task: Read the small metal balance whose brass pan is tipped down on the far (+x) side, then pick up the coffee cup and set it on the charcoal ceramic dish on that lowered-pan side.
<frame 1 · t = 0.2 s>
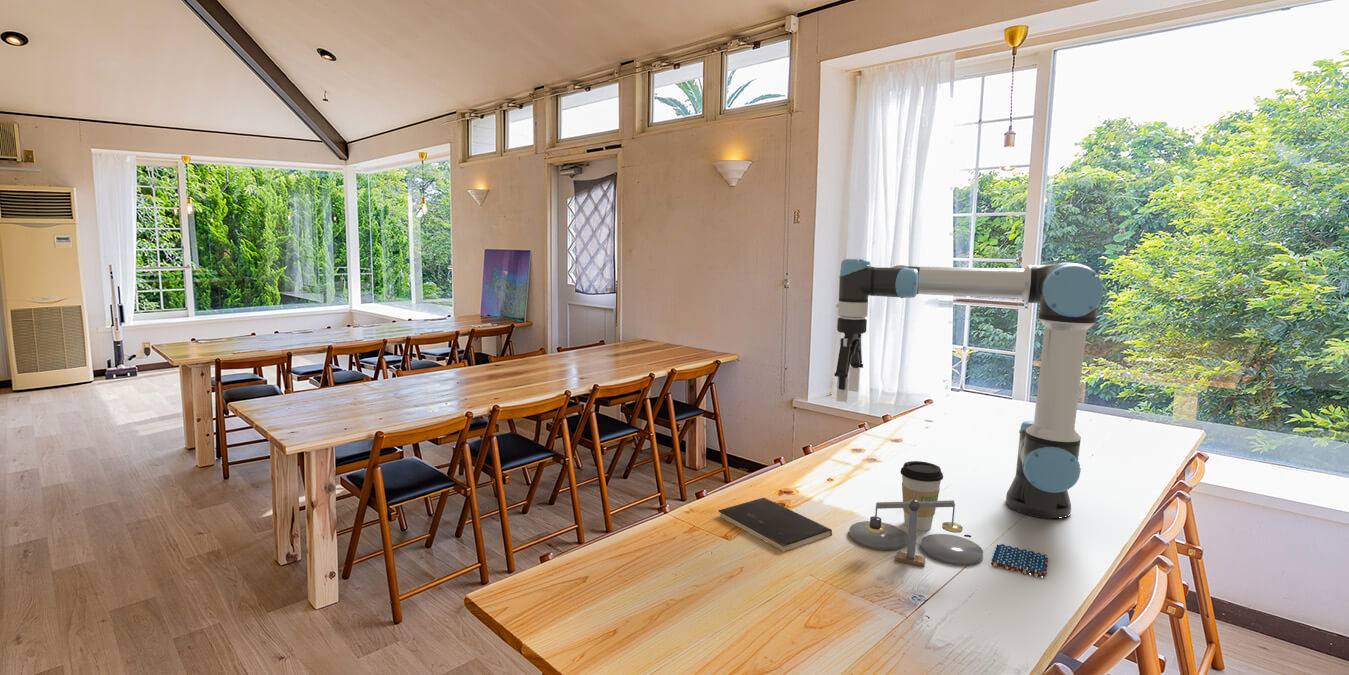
hand: (847, 396, 181), 28 cm above the table, fingers open, 13 cm apart
woven mat: (1019, 566, 147), on the table
balance: (910, 561, 147), on the table
coffee cup: (917, 526, 165), on the table
grey oval disc: (951, 551, 152), on the table
hardcover book: (773, 528, 164), on the table
dish low side: (877, 537, 158), on the table
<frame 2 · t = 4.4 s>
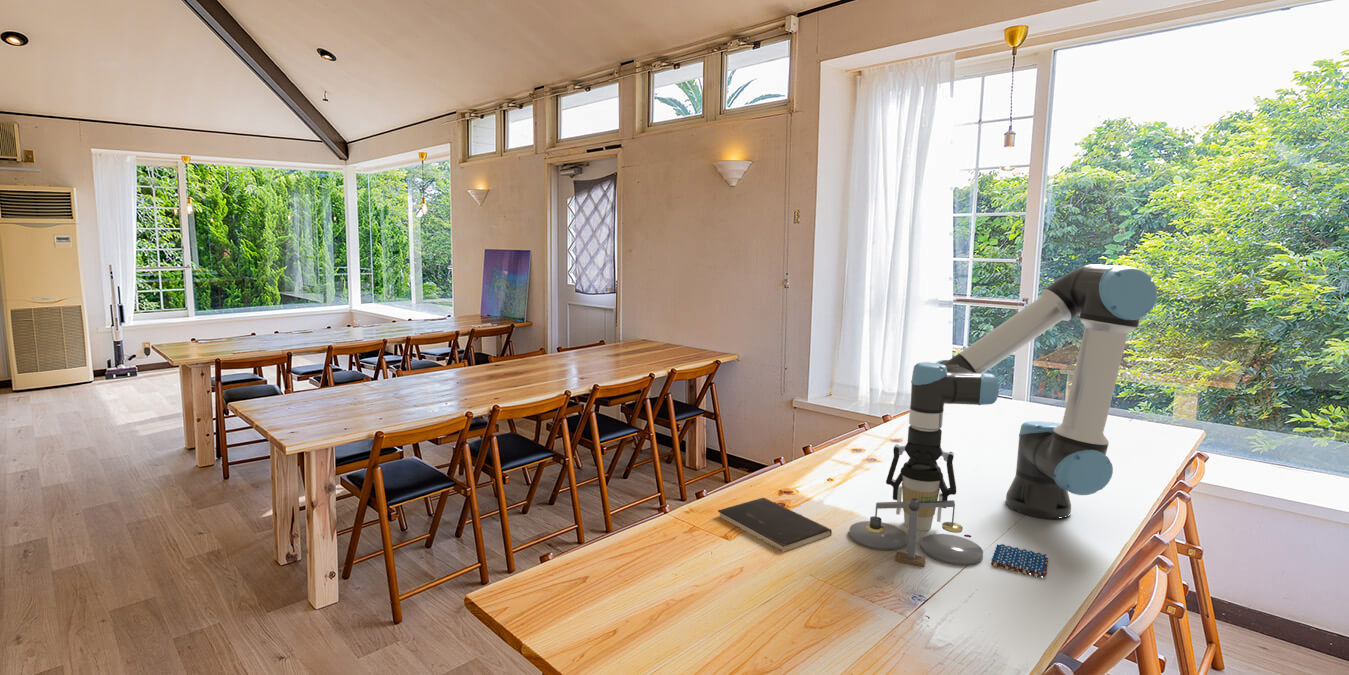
hand: (918, 516, 165), 2 cm above the table, fingers closed on coffee cup, 9 cm apart
coffee cup: (917, 526, 165), on the table, touching gripper
everything else where it was.
when the fingers open (5 cm above the table, at t = 10.5 s): coffee cup moves 2 cm, point 1 cm above the table.
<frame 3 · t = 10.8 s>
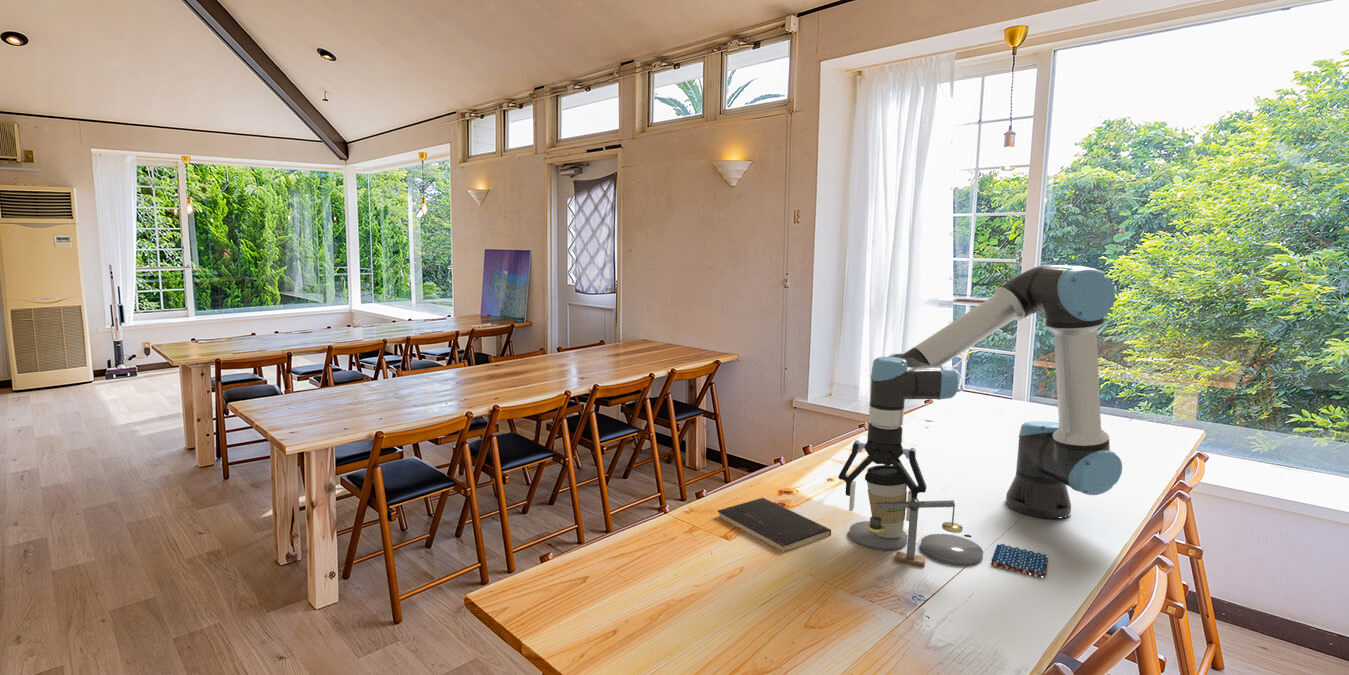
hand: (879, 513, 157), 6 cm above the table, fingers open, 12 cm apart
coffee cup: (889, 533, 157), point 1 cm above the table, touching gripper
everything else where it was.
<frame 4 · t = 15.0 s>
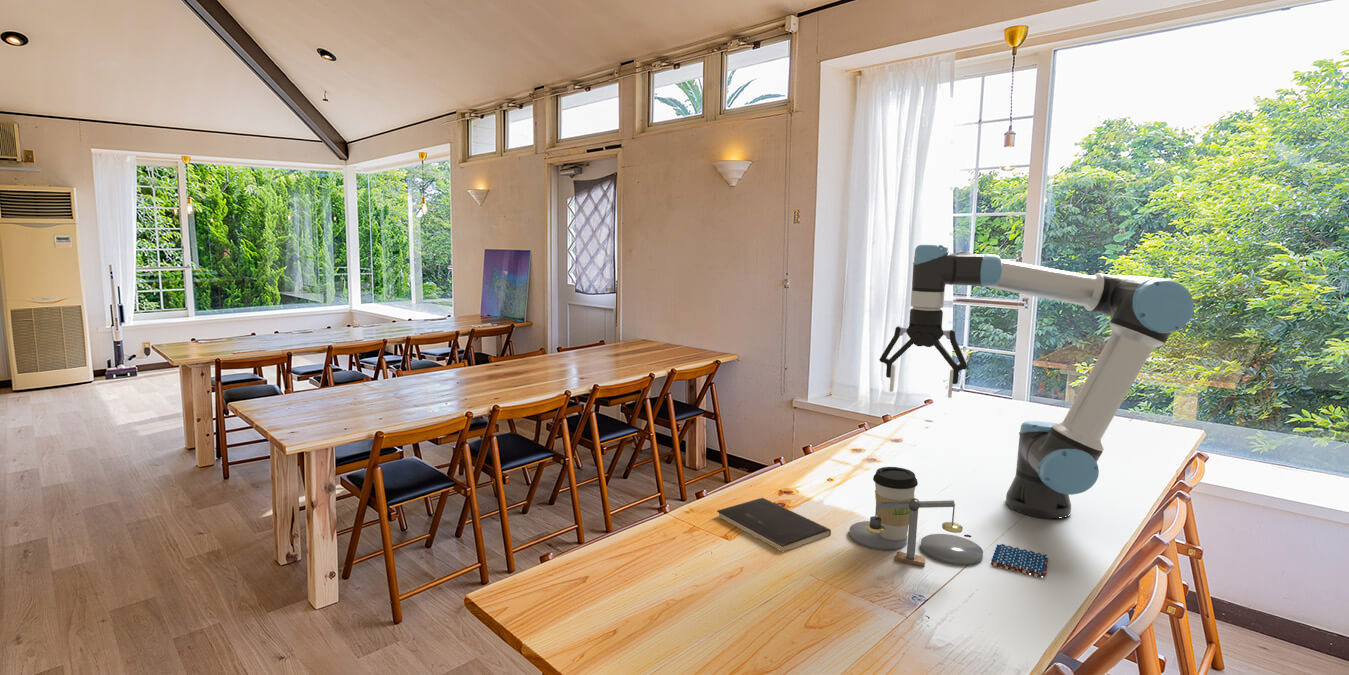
hand: (920, 393, 167), 32 cm above the table, fingers open, 13 cm apart
coffee cup: (892, 535, 157), point 1 cm above the table, touching dish low side
everything else where it was.
at the end: coffee cup 3.3 cm from the dish low side (horizontally); coffee cup tilted 1°; the gripper is holding nothing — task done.
